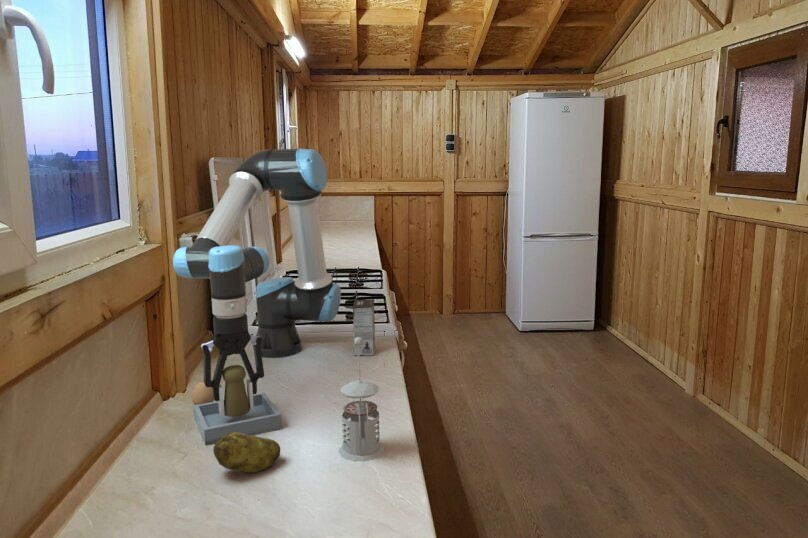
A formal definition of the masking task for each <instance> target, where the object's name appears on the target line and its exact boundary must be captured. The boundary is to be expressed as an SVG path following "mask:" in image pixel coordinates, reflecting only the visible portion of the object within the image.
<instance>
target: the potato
mask: <svg viewBox="0 0 808 538" xmlns="http://www.w3.org/2000/svg"><path fill="white" fill-rule="evenodd" d="M213 454H214V455H213V456H214V458H215V459H216V461H217V462H218V464H219V465H220V466H221V467H223V468H225V470H231V471H239V472H243V473H257V472H260V471H263V470H265V469H267V468H269V467H271V466H272V465H274V464H275V462H277V461H278V459H279V458H280V456H281V446H280V444H279V443H278V442H277V441H276V440H274V439H270V438H268V437H263V436H262V437H261V436H256V435H247V434H243V433H230V434H226V435H224V436H223V437H220V438H219V439H218V440H217V442H216V443H214V446H213Z"/></svg>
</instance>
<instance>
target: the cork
mask: <svg viewBox="0 0 808 538" xmlns="http://www.w3.org/2000/svg"><path fill="white" fill-rule="evenodd" d="M246 374H247V371H246V368H245V366H243V365H240V364H233V365H228V366H226V367H224V369H223V373H222V379H223V381H224V383H225V384H224V393H223V399H224V413H225V416H228V417H238V416H242V415H245V414H247V413H248V412H249V411H250V408H249V404H248V399H247V388H246V385H245V384H246V383H245V381H244V380H245V377H246Z"/></svg>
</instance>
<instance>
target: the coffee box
mask: <svg viewBox="0 0 808 538" xmlns="http://www.w3.org/2000/svg"><path fill="white" fill-rule="evenodd" d="M352 320H353V325H352V326H353V340H354V339H355V338H357V337H360V338H362V339H363V343H362V344H359V348H360V355H374V356H375V350H376V335H375V334H376V333H375V332H376V331H375V330H376V327H375V322H376V321H375V299H354V302H353V306H352ZM353 351H354V353H353V354H354V355H359V353H358V344H355V343H354V342H353Z"/></svg>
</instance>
